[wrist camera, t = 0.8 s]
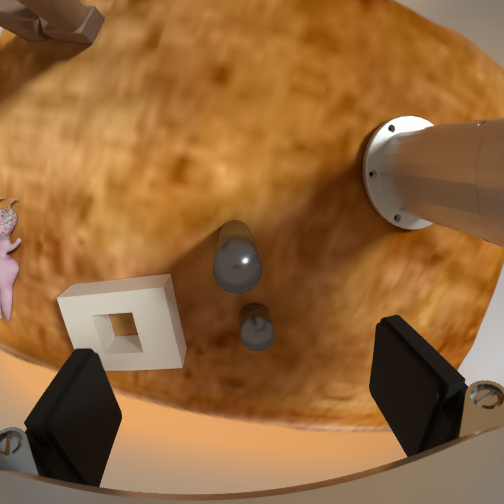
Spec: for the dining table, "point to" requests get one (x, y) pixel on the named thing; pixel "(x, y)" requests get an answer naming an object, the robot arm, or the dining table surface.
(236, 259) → the long pin
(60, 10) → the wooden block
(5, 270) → the pink toy figurine
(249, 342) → the short pin
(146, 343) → the hole block
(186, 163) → the dining table surface
